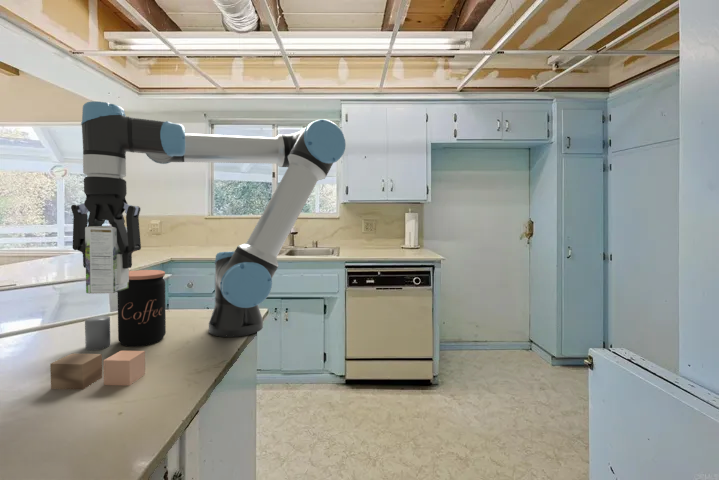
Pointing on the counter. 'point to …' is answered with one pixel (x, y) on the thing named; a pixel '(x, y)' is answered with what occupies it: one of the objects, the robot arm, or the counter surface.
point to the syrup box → (102, 260)
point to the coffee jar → (142, 309)
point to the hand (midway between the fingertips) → (108, 282)
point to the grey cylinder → (97, 333)
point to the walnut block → (76, 371)
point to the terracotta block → (124, 367)
